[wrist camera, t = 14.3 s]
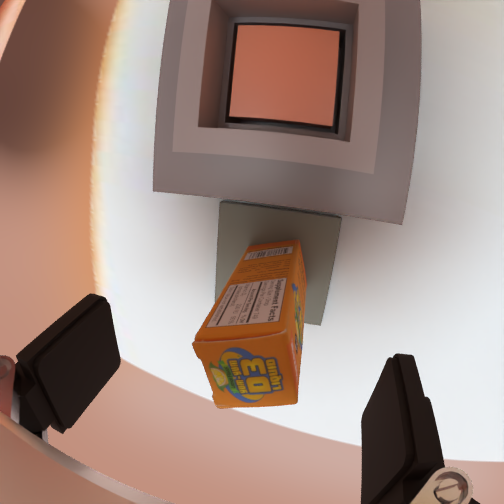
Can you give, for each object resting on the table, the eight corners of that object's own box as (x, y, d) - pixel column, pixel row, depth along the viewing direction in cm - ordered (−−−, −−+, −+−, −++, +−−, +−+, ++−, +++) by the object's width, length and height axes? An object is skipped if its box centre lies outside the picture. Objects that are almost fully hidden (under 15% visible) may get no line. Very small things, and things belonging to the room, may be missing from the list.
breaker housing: (201, -1, 15) (153, -47, 9) (401, 13, 13) (433, -36, 7) (184, 180, 19) (125, 201, 13) (385, 207, 17) (416, 241, 11)
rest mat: (222, 200, 19) (219, 202, 18) (340, 216, 18) (341, 219, 17) (216, 303, 21) (214, 307, 21) (320, 321, 20) (320, 325, 20)
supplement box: (312, 287, 19) (300, 413, 10) (257, 293, 20) (206, 412, 11) (304, 234, 18) (285, 335, 9) (246, 242, 19) (177, 340, 10)
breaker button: (252, 43, 14) (238, 25, 11) (336, 49, 13) (339, 31, 11) (244, 120, 16) (229, 116, 13) (329, 129, 15) (332, 126, 12)
